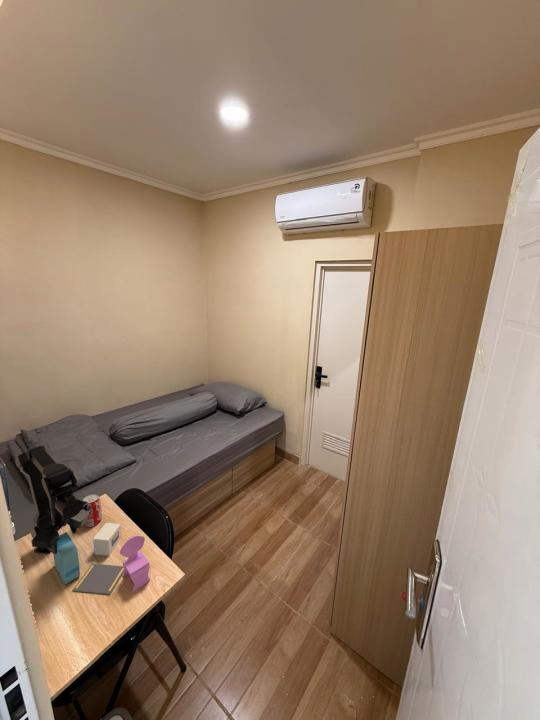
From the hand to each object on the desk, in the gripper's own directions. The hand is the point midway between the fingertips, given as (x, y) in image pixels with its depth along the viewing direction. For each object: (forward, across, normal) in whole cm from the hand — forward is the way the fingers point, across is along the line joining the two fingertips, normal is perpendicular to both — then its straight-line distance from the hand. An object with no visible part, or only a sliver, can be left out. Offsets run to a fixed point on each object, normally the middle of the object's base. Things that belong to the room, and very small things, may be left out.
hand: (65, 543), depth 100 cm
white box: (+12, +11, -8) cm, 18 cm away
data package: (+12, 0, 0) cm, 12 cm away
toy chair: (+12, 0, -26) cm, 28 cm away
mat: (+12, -2, -13) cm, 18 cm away
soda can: (+12, +22, +6) cm, 26 cm away
